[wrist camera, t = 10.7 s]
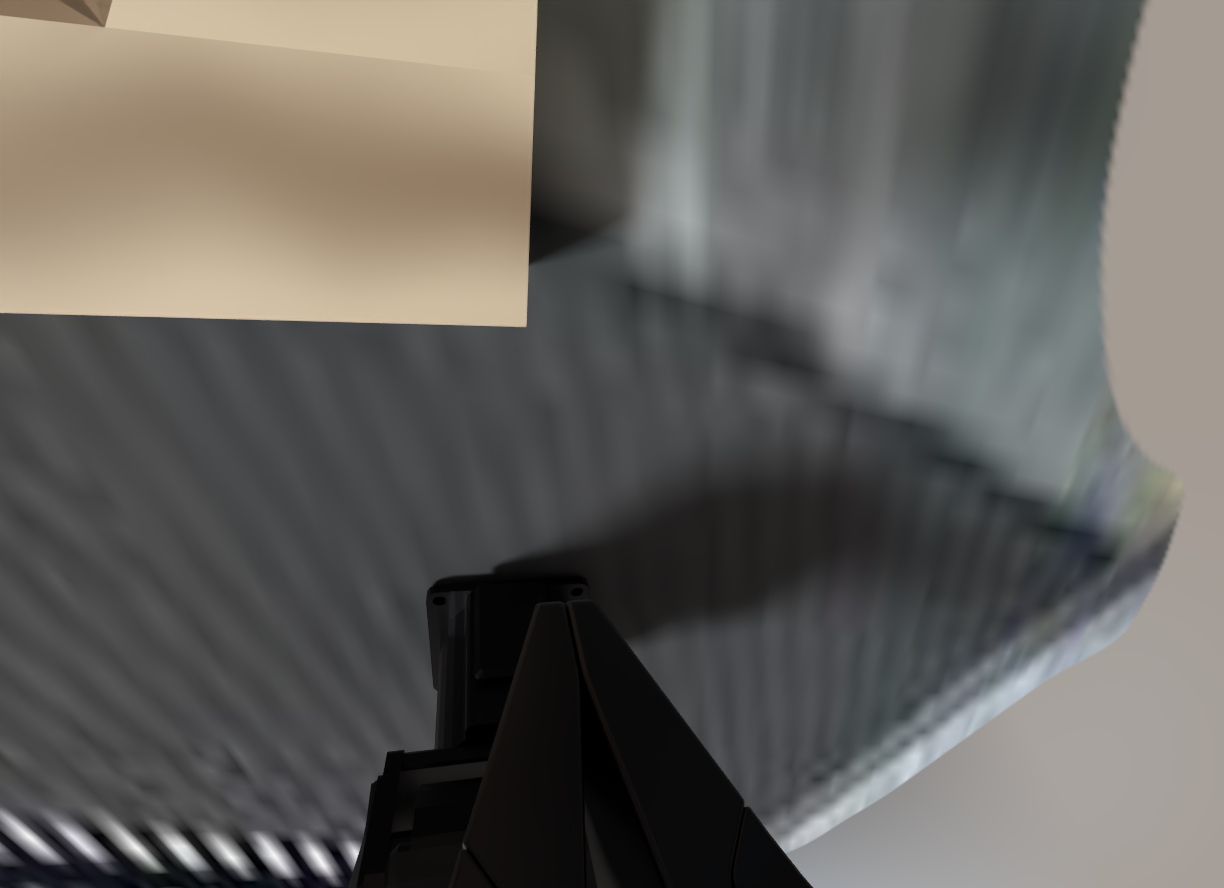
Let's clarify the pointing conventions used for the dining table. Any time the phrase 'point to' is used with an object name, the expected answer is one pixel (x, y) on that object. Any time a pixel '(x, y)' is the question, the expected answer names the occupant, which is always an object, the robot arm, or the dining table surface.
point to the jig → (267, 159)
